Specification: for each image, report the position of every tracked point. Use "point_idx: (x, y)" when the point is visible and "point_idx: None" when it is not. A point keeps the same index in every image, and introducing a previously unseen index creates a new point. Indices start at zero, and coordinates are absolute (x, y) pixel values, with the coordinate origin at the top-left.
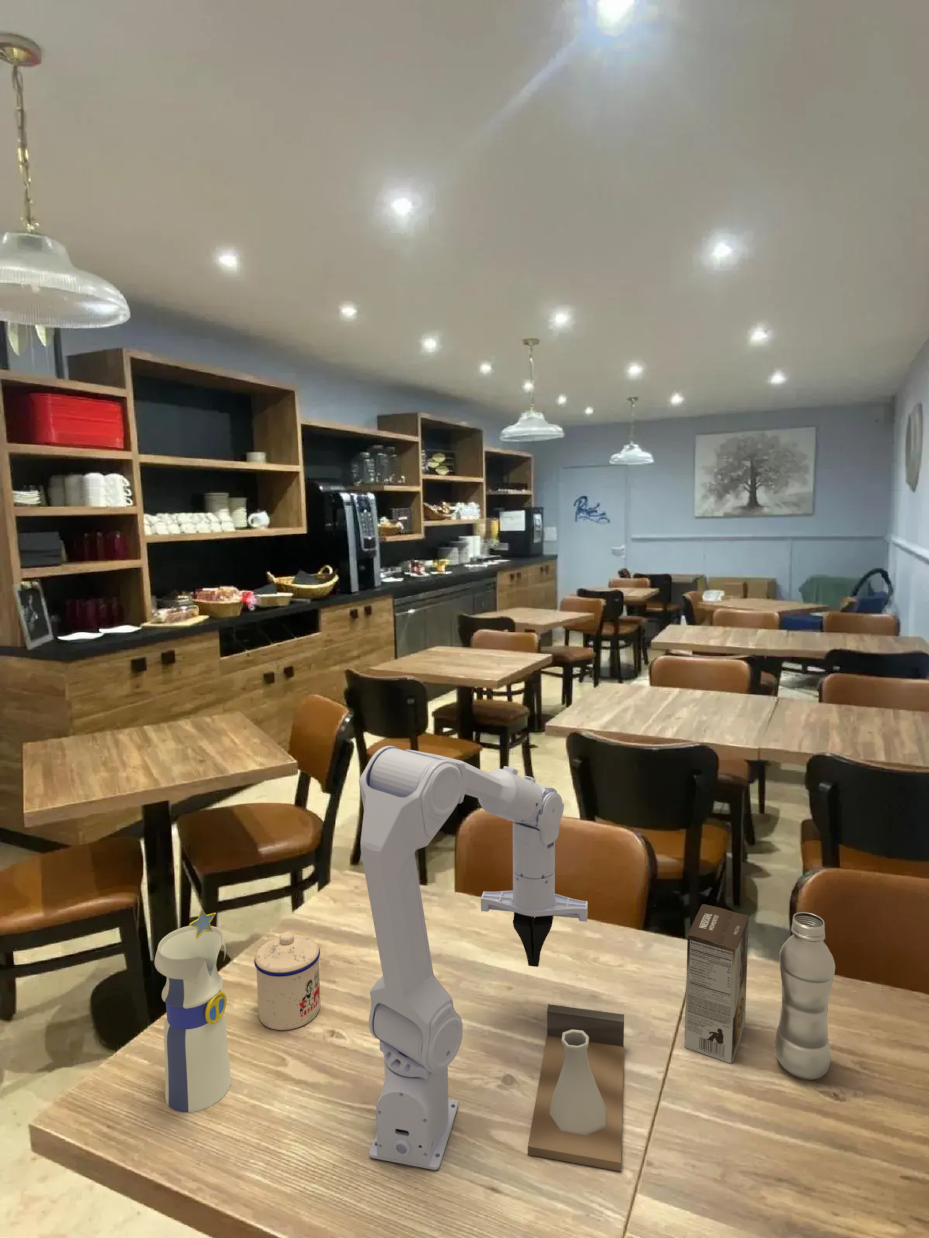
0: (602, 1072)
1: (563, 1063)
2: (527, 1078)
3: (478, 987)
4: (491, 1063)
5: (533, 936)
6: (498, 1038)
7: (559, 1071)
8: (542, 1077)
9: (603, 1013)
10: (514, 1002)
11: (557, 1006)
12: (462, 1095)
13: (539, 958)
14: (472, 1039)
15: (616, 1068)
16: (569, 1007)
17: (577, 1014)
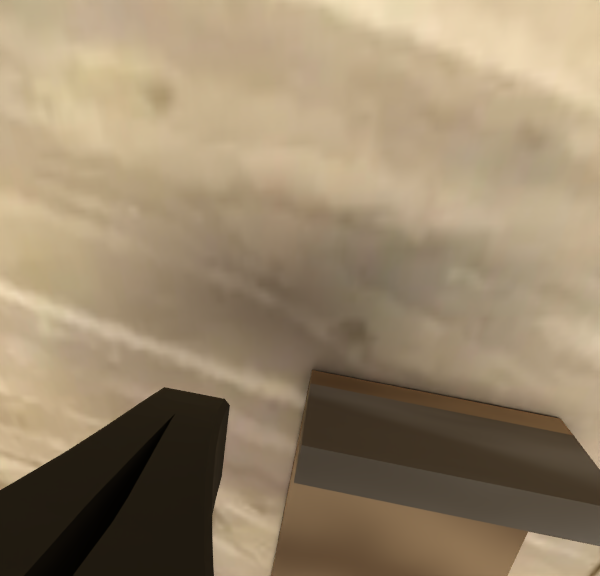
0: (455, 548)
1: (346, 516)
2: (248, 511)
3: (33, 101)
4: None
5: (90, 542)
6: (155, 377)
7: (331, 540)
8: (283, 552)
9: (537, 502)
10: (189, 197)
11: (340, 459)
12: None
13: (222, 439)
14: (80, 380)
15: (502, 539)
16: (392, 464)
17: (420, 501)
